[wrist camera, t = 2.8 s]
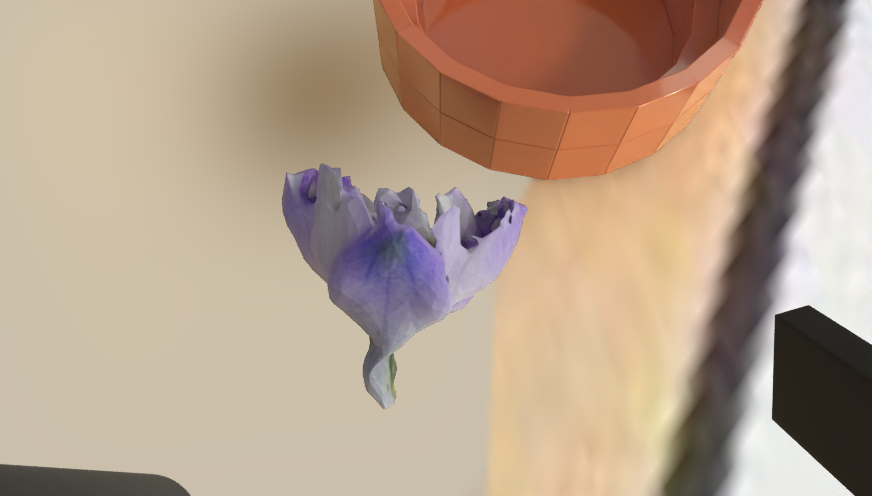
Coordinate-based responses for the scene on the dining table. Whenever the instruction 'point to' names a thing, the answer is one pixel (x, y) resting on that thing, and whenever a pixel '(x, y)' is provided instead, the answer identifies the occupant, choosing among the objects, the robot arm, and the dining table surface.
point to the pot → (557, 75)
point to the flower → (395, 257)
